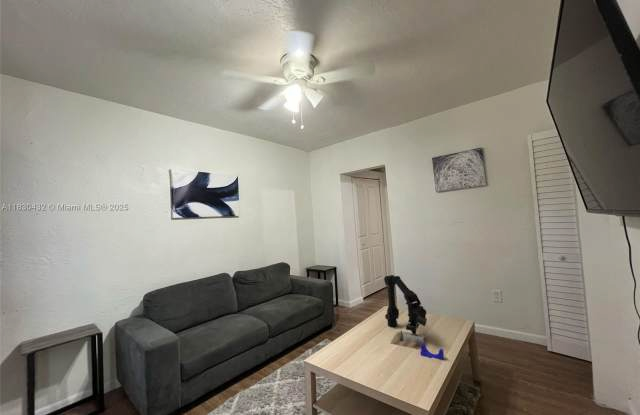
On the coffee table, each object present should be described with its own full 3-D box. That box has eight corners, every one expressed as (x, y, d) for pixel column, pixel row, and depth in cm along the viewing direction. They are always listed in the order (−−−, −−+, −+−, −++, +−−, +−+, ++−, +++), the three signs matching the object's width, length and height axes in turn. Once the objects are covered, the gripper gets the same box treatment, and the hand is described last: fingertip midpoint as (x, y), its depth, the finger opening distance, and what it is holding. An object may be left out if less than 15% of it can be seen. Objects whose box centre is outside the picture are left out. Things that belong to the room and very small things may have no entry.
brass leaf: (403, 339, 174) (403, 332, 174) (403, 339, 175) (403, 331, 175) (423, 343, 167) (423, 335, 167) (424, 342, 168) (423, 335, 168)
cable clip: (420, 356, 155) (419, 346, 155) (423, 353, 158) (422, 343, 158) (441, 363, 147) (440, 352, 147) (444, 359, 150) (443, 349, 150)
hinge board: (390, 344, 171) (389, 343, 171) (397, 333, 186) (397, 332, 186) (424, 351, 159) (424, 350, 159) (429, 338, 175) (429, 337, 175)
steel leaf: (399, 340, 173) (399, 331, 174) (400, 339, 175) (399, 330, 175) (423, 345, 165) (422, 336, 166) (423, 344, 167) (423, 334, 167)
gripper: (422, 319, 161) (425, 344, 160) (427, 309, 177) (429, 331, 176) (404, 316, 167) (406, 341, 166) (411, 307, 183) (413, 329, 182)
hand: (414, 335), depth 173 cm, fingers closed
